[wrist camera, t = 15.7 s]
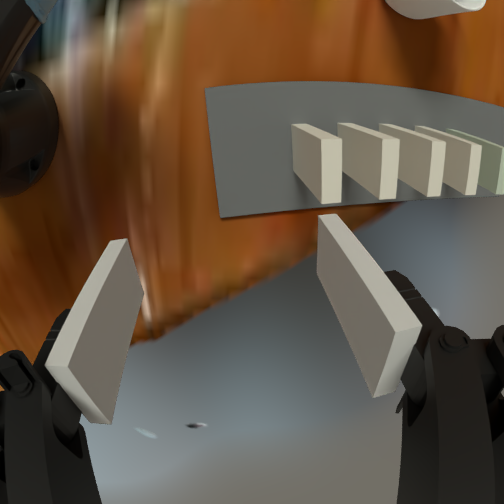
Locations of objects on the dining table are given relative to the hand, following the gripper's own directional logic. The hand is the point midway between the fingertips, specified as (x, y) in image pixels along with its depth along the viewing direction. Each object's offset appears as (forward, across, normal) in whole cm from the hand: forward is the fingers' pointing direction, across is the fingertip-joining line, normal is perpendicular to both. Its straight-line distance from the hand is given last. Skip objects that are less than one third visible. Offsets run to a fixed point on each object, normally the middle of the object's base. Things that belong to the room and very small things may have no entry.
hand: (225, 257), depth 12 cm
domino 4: (+21, +23, 0) cm, 31 cm away
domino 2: (+21, +13, 0) cm, 24 cm away
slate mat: (+21, +20, 0) cm, 29 cm away
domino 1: (+21, +8, 0) cm, 22 cm away
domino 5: (+21, +28, 0) cm, 35 cm away
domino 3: (+21, +18, 0) cm, 27 cm away
